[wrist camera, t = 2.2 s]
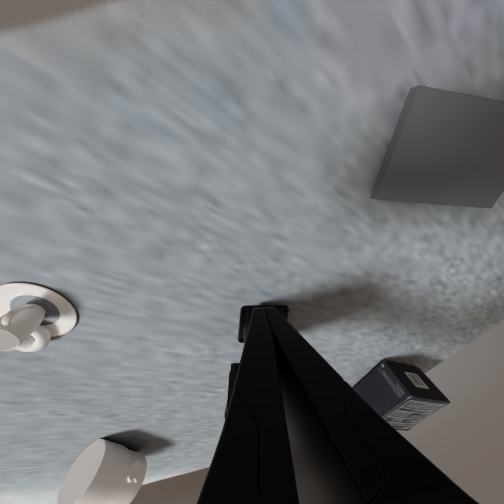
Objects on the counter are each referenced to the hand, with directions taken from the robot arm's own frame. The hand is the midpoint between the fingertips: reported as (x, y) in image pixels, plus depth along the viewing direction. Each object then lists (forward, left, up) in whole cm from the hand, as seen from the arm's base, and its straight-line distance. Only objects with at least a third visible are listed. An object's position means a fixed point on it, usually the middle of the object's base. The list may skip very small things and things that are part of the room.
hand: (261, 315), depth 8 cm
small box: (-26, -33, -10) cm, 43 cm away
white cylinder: (-48, +23, -13) cm, 55 cm away
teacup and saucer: (-12, +25, -13) cm, 31 cm away
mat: (+8, -21, -13) cm, 26 cm away
